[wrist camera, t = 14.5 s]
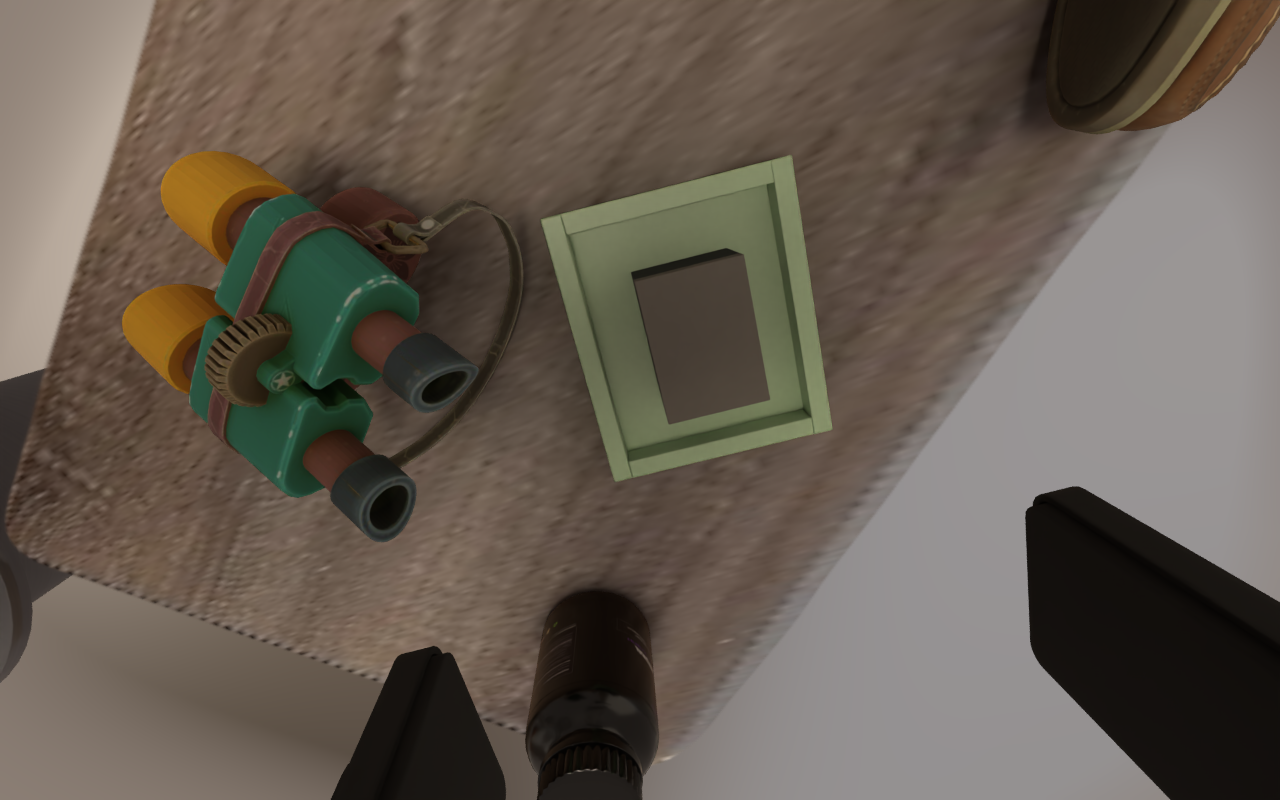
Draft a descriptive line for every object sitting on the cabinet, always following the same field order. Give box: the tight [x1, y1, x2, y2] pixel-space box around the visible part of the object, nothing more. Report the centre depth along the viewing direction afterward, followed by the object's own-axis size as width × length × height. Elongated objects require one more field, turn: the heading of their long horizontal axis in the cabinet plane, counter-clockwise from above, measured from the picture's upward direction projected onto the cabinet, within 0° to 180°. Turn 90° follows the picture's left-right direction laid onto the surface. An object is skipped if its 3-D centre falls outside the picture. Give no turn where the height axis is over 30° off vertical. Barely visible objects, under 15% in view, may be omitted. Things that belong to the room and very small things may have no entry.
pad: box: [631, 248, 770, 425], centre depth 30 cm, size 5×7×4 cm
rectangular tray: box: [540, 155, 832, 482], centre depth 31 cm, size 12×14×2 cm
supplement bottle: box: [525, 591, 659, 800], centre depth 33 cm, size 7×7×12 cm
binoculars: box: [122, 151, 523, 542], centre depth 25 cm, size 14×14×15 cm
